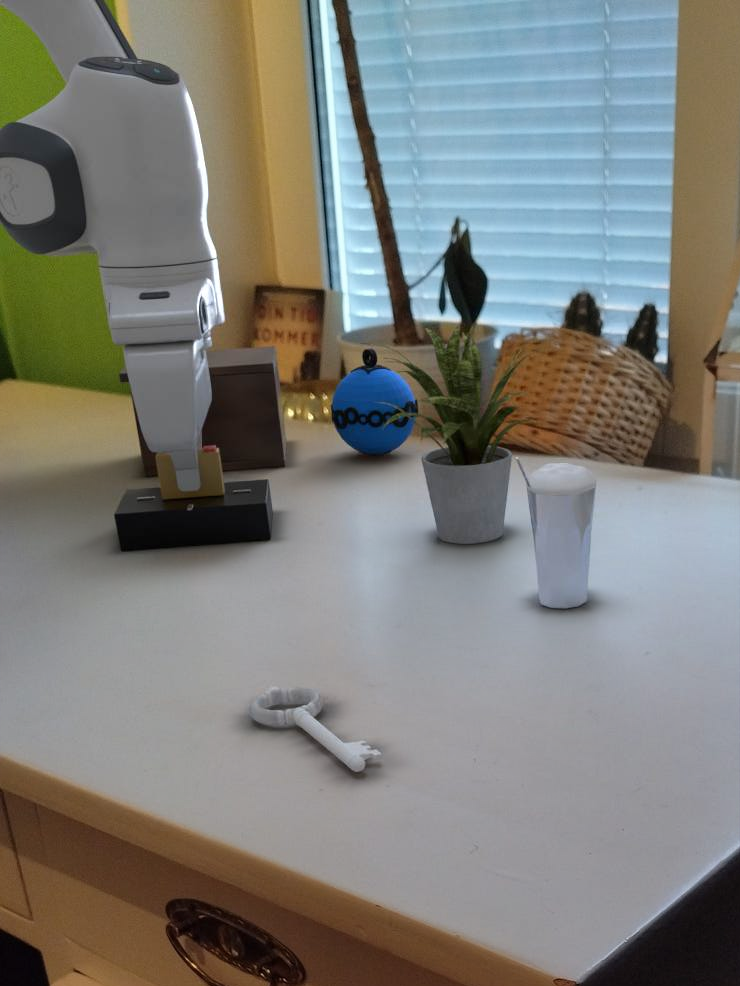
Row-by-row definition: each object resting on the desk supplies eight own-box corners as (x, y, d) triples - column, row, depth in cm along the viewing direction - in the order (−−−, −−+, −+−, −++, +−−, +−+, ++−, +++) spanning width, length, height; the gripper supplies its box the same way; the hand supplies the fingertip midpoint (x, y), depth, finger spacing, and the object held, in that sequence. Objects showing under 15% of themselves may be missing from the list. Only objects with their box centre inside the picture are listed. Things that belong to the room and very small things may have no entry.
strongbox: (144, 476, 128) (128, 382, 123) (155, 452, 137) (141, 363, 133) (285, 466, 129) (274, 372, 124) (286, 443, 138) (276, 354, 134)
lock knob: (162, 500, 107) (154, 453, 105) (164, 495, 108) (156, 448, 107) (224, 495, 107) (217, 448, 106) (225, 490, 109) (218, 444, 107)
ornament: (317, 456, 132) (306, 351, 127) (384, 441, 137) (376, 339, 132) (370, 469, 126) (361, 359, 121) (438, 452, 131) (432, 346, 126)
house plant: (344, 526, 109) (323, 315, 101) (491, 499, 114) (483, 297, 106) (416, 569, 98) (399, 336, 90) (576, 537, 103) (574, 314, 95)
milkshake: (508, 598, 91) (503, 451, 86) (579, 587, 92) (578, 441, 87) (534, 618, 87) (530, 465, 82) (607, 605, 89) (607, 454, 84)
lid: (120, 382, 123) (111, 330, 121) (133, 364, 133) (125, 315, 130) (274, 371, 124) (267, 319, 122) (276, 354, 134) (270, 305, 131)
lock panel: (119, 553, 105) (112, 514, 103) (133, 522, 113) (126, 485, 111) (270, 541, 106) (265, 502, 104) (273, 512, 114) (268, 475, 112)
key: (304, 692, 77) (237, 708, 76) (303, 677, 77) (235, 693, 75) (397, 765, 68) (323, 785, 66) (396, 749, 68) (321, 769, 66)
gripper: (138, 290, 109) (165, 459, 116) (105, 323, 92) (139, 520, 99) (214, 285, 110) (236, 454, 117) (196, 317, 92) (224, 513, 99)
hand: (192, 484), depth 107 cm, fingers closed on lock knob, 2 cm apart
